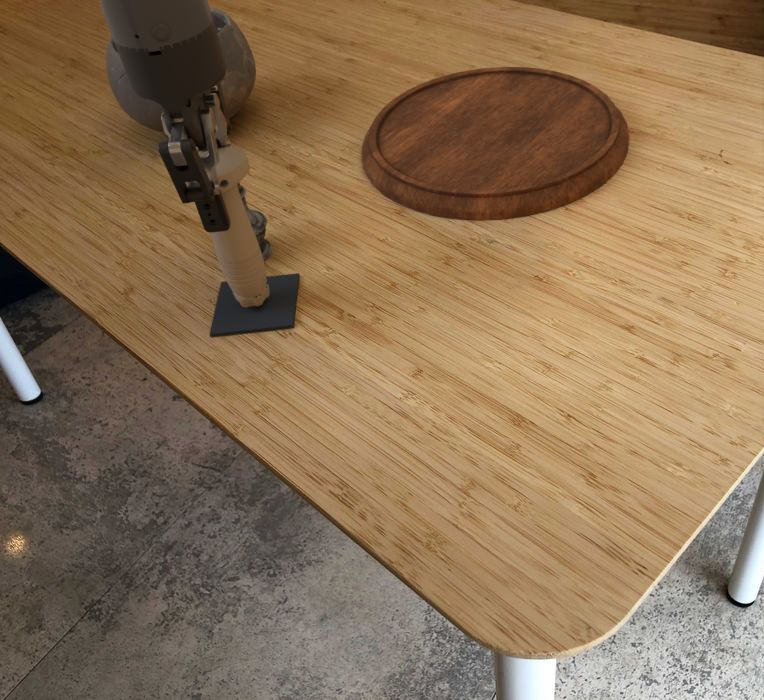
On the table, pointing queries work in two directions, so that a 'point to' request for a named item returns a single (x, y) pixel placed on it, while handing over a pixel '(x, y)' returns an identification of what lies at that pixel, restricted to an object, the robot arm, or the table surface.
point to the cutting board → (495, 143)
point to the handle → (238, 234)
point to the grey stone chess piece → (257, 225)
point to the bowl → (233, 84)
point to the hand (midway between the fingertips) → (223, 208)
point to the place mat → (257, 308)
